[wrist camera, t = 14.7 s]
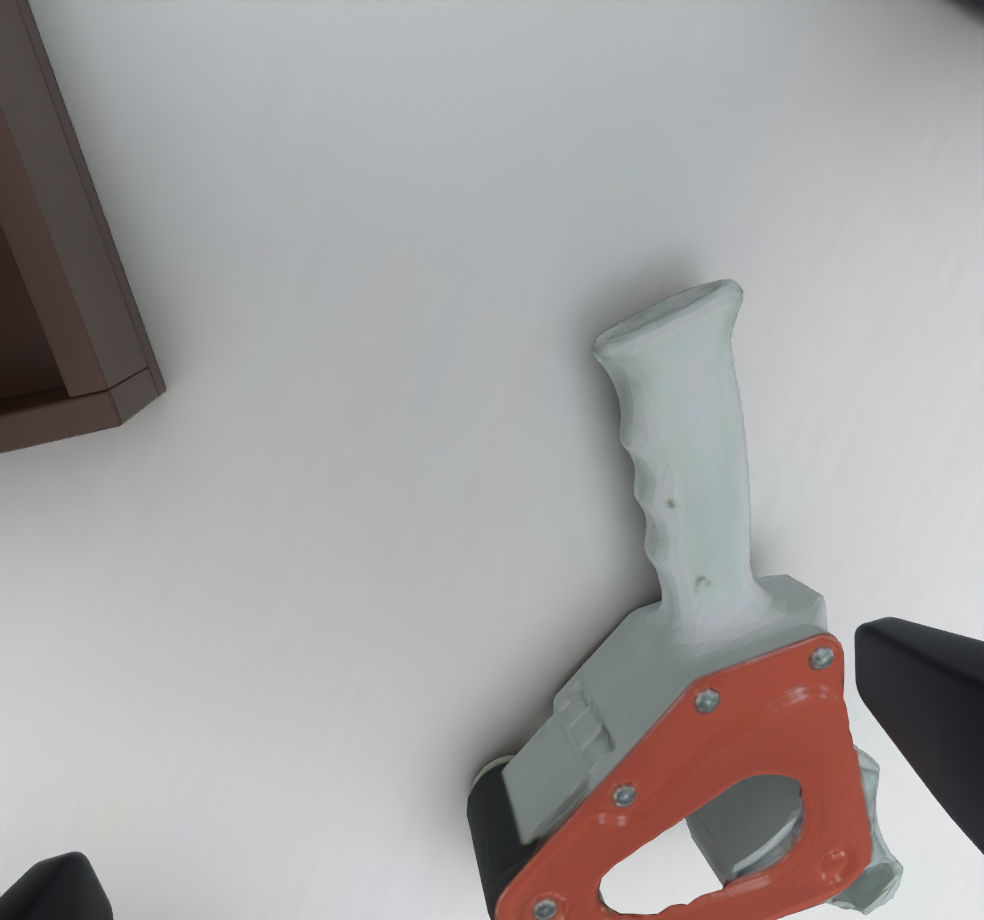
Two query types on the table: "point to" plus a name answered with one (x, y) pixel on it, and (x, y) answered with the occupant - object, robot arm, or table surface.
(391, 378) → the table surface
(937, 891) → the table surface
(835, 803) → the tape dispenser
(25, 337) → the hinged lid box
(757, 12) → the table surface
